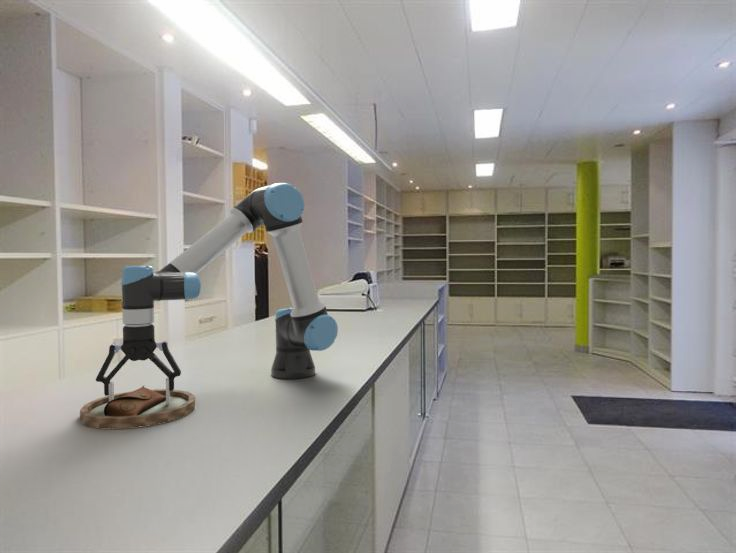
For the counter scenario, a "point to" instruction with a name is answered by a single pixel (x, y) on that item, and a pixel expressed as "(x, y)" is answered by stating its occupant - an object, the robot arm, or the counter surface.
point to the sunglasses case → (133, 403)
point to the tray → (158, 414)
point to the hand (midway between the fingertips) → (140, 405)
